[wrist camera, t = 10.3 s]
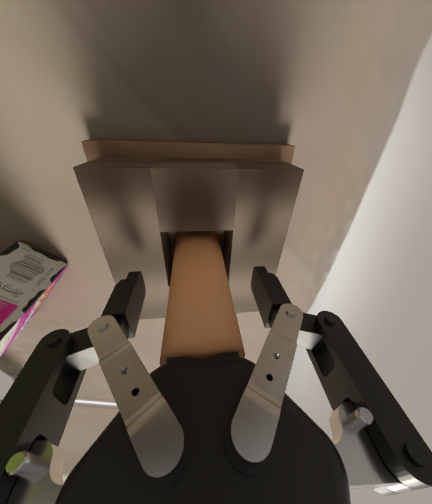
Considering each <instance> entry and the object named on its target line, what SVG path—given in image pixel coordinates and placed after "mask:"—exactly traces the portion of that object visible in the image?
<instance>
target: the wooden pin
mask: <svg viewBox="0 0 432 504" xmlns="http://www.w3.org/2000/svg"><path fill="white" fill-rule="evenodd" d="M228 352H238V353H239V357H241V358H245V352H244V348H243V343H242V339H241V335H240V330H239V326H238V322H237V317H236V313H235V308H234V304H233V300H232V295H231V291H230V287H229V282H228V278H227V274H226V269H225V265H224V260H223V256H222V252H221V247H220V243H219V239H218V234H217V231H181V232H177V236H176V243H175V251H174V259H173V266H172V274H171V281H170V289H169V296H168V304H167V311H166V319H165V326H164V334H163V342H162V349H161V357H160V366H162V365H165V364H166V361H167V358H173V357H184V356H185V357H191V358H197V359H207V358H209V357H212V356H215V355H217V354H220V353H228Z"/></svg>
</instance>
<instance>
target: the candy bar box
mask: <svg viewBox="0 0 432 504" xmlns="http://www.w3.org/2000/svg"><path fill="white" fill-rule="evenodd" d="M67 266H68V264H67V263H66V262H64V261H62V260H59V259H57V258H55V257H53V256H51V255H49V254H47V253H45V252H43V251H41V250H39V249H37V248H35V247H33V246H31V245H28V244H26V243H24V242H21V241H17V242H16V243H14V244H13V245H12V246H10V247H9V248H7V249H6V250H4V251H3V252H1V253H0V357H1V355H2V354H3V353H4V352H5V351H6V349H7V348H8V347H9V346H10V345H11V343H12V342H13V341H14V340H15V338H16V337H17V336H18V335H19V334H20V332H21V331H22V330H23V329H24V327H25V326H26V325H27V324H28V323H29V321H30V320H31V319H32V318H33V317H34V315H35V314H36V312H37V311H38V309H39V308H40V306H41V305H42V303H43V302H44V300H45V299H46V297H47V296H48V294H49V293H50V291H51V290H52V288H53V287H54V285H55V284H56V282H57V281H58V279H59V278H60V276H61V275H62V273H63V272H64V270H65V269H66V268H67Z"/></svg>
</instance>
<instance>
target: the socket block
mask: <svg viewBox="0 0 432 504" xmlns="http://www.w3.org/2000/svg"><path fill="white" fill-rule="evenodd" d="M81 142H82V145H83V148H84V152H85V155H86V158H87V161H88V162H86V163H83V164H81V165H78V166H75V167H73V169H74V171H75V174H76V177H77V180H78V182H79V185H80V188H81V191H82V193H83V196H84V199H85V202H86V204H87V207H88V210H89V213H90V215H91V218H92V221H93V224H94V226H95V229H96V232H97V235H98V237H99V240H100V243H101V246H102V248H103V251H104V254H105V257H106V259H107V262H108V265H109V268H110V270H111V273H112V276H113V279H114V281H115V284H117V283H118V282H119V281H120V280H121V279H126V278H127V275H128V273H129V272H132V271H141V272H142V275H143V279H144V283H145V288H146V294H145V299H144V302H143V306H142V310H141V314H140V318H139V319H153V318H166V311H167V304H168V296H169V289H170V281H171V274H172V266H173V259H174V251H175V243H176V236H177V232H181V231H217V234H218V239H219V243H220V247H221V252H222V256H223V260H224V265H225V269H226V274H227V278H228V282H229V287H230V291H231V295H232V300H233V304H234V308H235V313H240V312H254V311H259V309H258V307H257V304H256V301H255V298H254V295H253V293H252V290H251V278H252V273H253V268H254V266H265V268H266V270H267V271H268V273H273V274H274V275H276V271H277V268H278V264H279V260H280V257H281V253H282V249H283V245H284V242H285V238H286V234H287V231H288V227H289V223H290V220H291V216H292V212H293V208H294V205H295V201H296V197H297V194H298V190H299V186H300V182H301V179H302V175H303V171H304V170H303V169H301V168H299V167H296V166H294V165H292V164H291V162H292V158H293V153H294V149H295V146H293V145H288V144H257V143H216V142H175V141H135V140H94V139H90V140H84V141H81Z"/></svg>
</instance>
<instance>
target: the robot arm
mask: <svg viewBox="0 0 432 504" xmlns="http://www.w3.org/2000/svg"><path fill="white" fill-rule="evenodd" d="M251 290H252V293H253V295H254V298H255V301H256V304H257V307H258V309H259V312H260V315H261V318H262V321H263V323H264V326H265V328H271V330H270V332H269V334H268V336H267V339H266V341H265V344H264V346H263V348H262V351H261V353H260V356H259V358H258V360H257V363H256V364H254V363H253V362H251V361H249V360H247V359H245V358H241V357H239V353H238V352H228V353H220V354H217V355H215V356H212V357H209V358H207V359H197V358H191V357H185V356H184V357H173V358H167V361H166V364H165V365H162V366H160V367H158V368H157V369H155V370H154V371H153V372H152V373H150V374H149V373H148V371H147V370H146V368H145V366H144V365H143V363H142V361H141V360H140V358H139V356H138V355H137V353H136V351H135V350H134V348H133V346H132V344H131V343H130V342H129V341H128V338H134V336H135V333H136V329H137V325H138V321H139V318H140V314H141V310H142V306H143V302H144V299H145V294H146V288H145V283H144V279H143V275H142V272H141V271H132V272H129V273H128V275H127V278H126V279H121V280H120V281H119V282H118V283H117V284H116V285H115V287H114V289H113V292H112V294H111V296H110V298H109V300H108V302H107V304H106V307H105V309H104V311H103V313H102V315H101V317H99V318H97V319H96V320H94V321H93V322H92V323H91V324H90V325H89V327H88V328H86V329H83V330H80V331H77V332H73V333H70V332H69V331H68V330H65V329H59V330H55V331H53V332H51V333H49V334H47V335H46V336H44V337H43V338H42V339H41V340H40V342H39V343H38V344H37V346H36V348H35V349H34V351H33V352H32V354H31V356H30V357H29V359H28V361H27V362H26V364H25V365H24V367H23V369H22V370H21V372H20V373H19V375H18V377H17V378H16V380H15V381H14V383H13V385H12V386H11V388H10V389H9V391H8V393H7V394H6V396H5V397H4V399H3V401H2V402H1V404H0V504H351V503H350V492H349V489H357V488H370V487H372V488H373V489H374V490H375V491H376V492H378V493H380V494H382V495H393V494H398V493H403V492H407V491H412V490H417V489H422V488H427V487H431V486H432V452H431V450H430V449H429V447H428V446H427V444H426V443H425V442H424V440H423V439H422V437H421V436H420V434H419V433H418V431H417V430H416V428H415V427H414V425H413V424H412V423H411V421H410V420H409V418H408V417H407V415H406V414H405V412H404V411H403V410H402V408H401V407H400V405H399V404H398V402H397V401H396V399H395V398H394V396H393V395H392V393H391V392H390V390H389V389H388V388H387V386H386V385H385V383H384V382H383V380H382V379H381V377H380V376H379V374H378V373H377V372H376V370H375V369H374V367H373V366H372V364H371V363H370V361H369V360H368V358H367V357H366V355H365V354H364V352H363V351H362V350H361V348H360V347H359V346H358V344H357V342H356V341H355V339H354V338H353V336H352V335H351V334H350V332H349V331H348V329H347V328H346V326H345V325H344V323H343V322H342V320H341V319H340V318H339V317H338V316H337V315H335V314H333V313H331V312H328V311H322V312H319V313H318V315H317V316H316V315H311V314H306V313H303V312H302V311H301V310H300V309H299V308H298V307H297V306H295V305H293V304H292V303H291V301H290V300H289V298H288V296H287V294H286V292H285V291H284V289H283V288H282V285H281V284H280V281H279V280H278V278H277V277H276V276H275V275H274V274H273V273H268V271H267V270H266V268H265V266H254V268H253V273H252V278H251ZM297 346H298V347H302V348H306V350H307V352H308V355H309V357H310V359H311V361H312V364H313V366H314V368H315V370H316V373H317V375H318V377H319V380H320V382H321V384H322V386H323V389H324V391H325V393H326V395H327V398H328V400H329V402H330V404H331V407H332V409H333V412H332V414H331V416H330V425H331V429H332V433H333V442H332V441H331V439H330V438H329V437H328V436H327V434H326V433H325V432H324V431H323V430H322V429H321V428H320V427H319V426H318V425H317V424H316V423H315V422H314V421H313V420H312V419H311V418H310V417H309V416H308V415H307V414H306V413H304V411H303V410H302V409H301V408H299V406H298V405H297V404H296V403H295V402H294V401H293V400H292V399H291V398H290V397H289V396H287V394H286V393H285V390H286V386H287V382H288V378H289V374H290V370H291V367H292V362H293V359H294V355H295V351H296V347H297ZM96 364H100V366H101V368H102V371H103V373H104V376H105V378H106V380H107V383H108V385H109V387H110V390H111V392H112V395H113V397H114V399H115V402H116V404H117V406H118V409H119V412H118V413H117V415H116V416H115V417H114V418H113V420H112V421H111V422H110V423H109V425H108V426H107V427H106V428H105V430H104V431H103V432H102V433H101V435H100V436H99V437H98V438H97V440H96V441H95V442H94V443H93V445H92V446H91V447H90V448H89V450H88V451H87V452H86V453H85V455H84V456H83V457H82V458H81V460H80V461H79V462H78V463H77V465H76V466H75V467H74V468H73V470H72V471H71V473H70V474H69V476H68V477H67V479H66V481H65V482H64V483H63V479H62V470H63V466H64V459H65V457H64V452H63V450H62V449H61V448H59V447H58V445H59V442H60V440H61V437H62V434H63V432H64V429H65V426H66V423H67V421H68V418H69V415H70V412H71V410H72V407H73V404H74V401H75V399H76V396H77V393H78V391H79V388H80V385H81V382H82V380H83V377H84V374H85V371H86V369H87V368H89V367H91V366H94V365H96Z"/></svg>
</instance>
